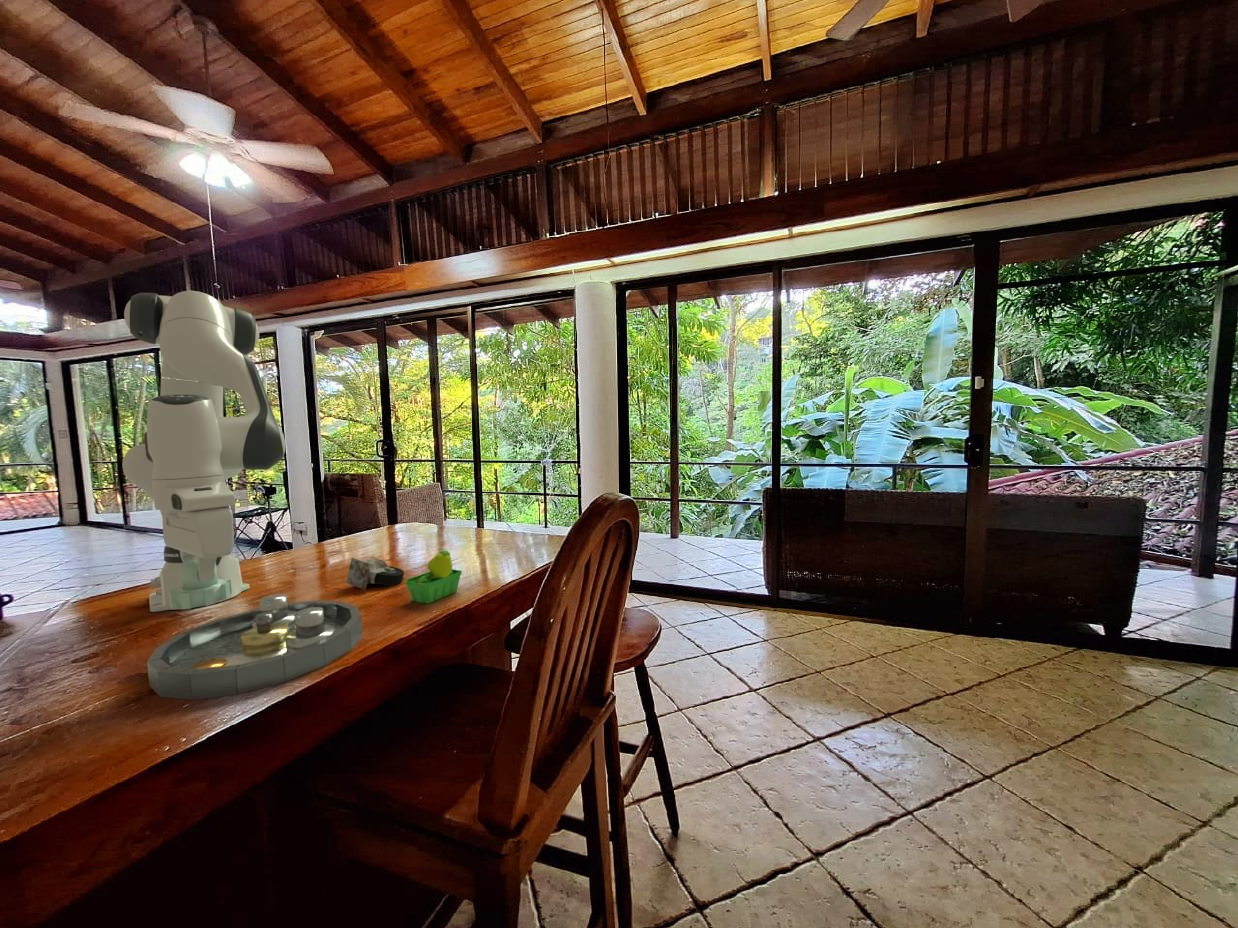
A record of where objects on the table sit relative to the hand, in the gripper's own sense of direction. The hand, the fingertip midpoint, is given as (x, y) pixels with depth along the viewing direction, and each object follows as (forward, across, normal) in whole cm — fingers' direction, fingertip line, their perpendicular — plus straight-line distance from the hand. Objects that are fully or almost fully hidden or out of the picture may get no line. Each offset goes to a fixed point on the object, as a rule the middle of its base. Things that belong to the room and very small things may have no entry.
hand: (200, 578), depth 79 cm
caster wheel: (+16, -20, +41) cm, 49 cm away
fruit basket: (+17, +2, +42) cm, 45 cm away
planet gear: (+4, 0, 0) cm, 4 cm away
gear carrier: (+16, 0, +8) cm, 18 cm away
